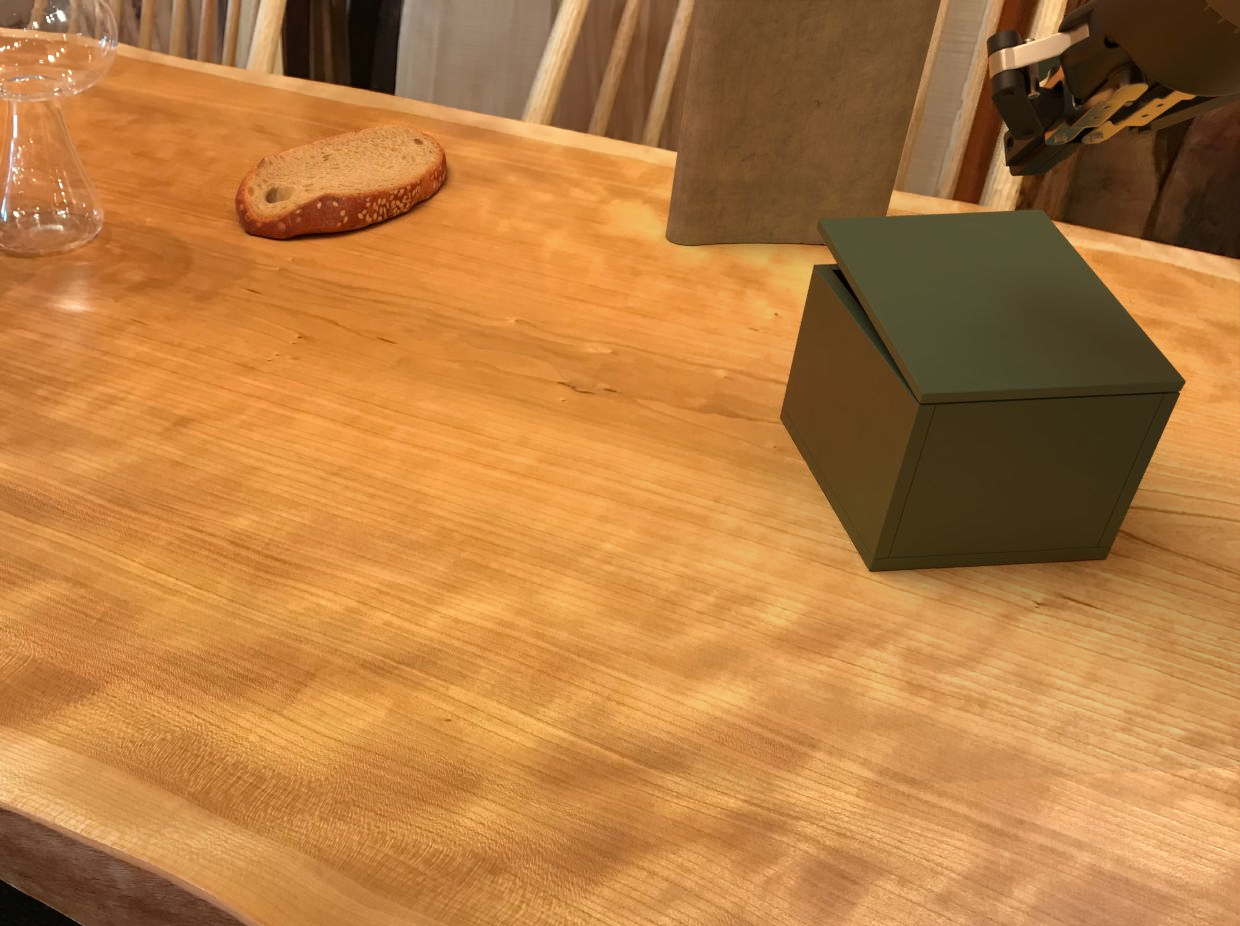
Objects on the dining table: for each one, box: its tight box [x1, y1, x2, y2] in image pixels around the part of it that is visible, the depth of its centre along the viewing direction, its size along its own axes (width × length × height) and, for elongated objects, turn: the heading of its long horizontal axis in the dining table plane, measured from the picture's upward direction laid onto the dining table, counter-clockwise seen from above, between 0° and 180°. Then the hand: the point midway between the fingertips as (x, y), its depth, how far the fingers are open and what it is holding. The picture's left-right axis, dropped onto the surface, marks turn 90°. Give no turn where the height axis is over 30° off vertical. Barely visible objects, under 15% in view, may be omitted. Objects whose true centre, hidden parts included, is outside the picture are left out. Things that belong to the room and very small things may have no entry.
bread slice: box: [234, 123, 448, 239], centre depth 106 cm, size 18×18×4 cm
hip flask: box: [665, 0, 942, 246], centre depth 93 cm, size 16×4×20 cm, turn 85°
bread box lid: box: [817, 209, 1187, 404], centre depth 67 cm, size 16×13×1 cm
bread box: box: [779, 263, 1181, 572], centre depth 71 cm, size 16×13×10 cm
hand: (1023, 156), depth 63 cm, fingers closed
